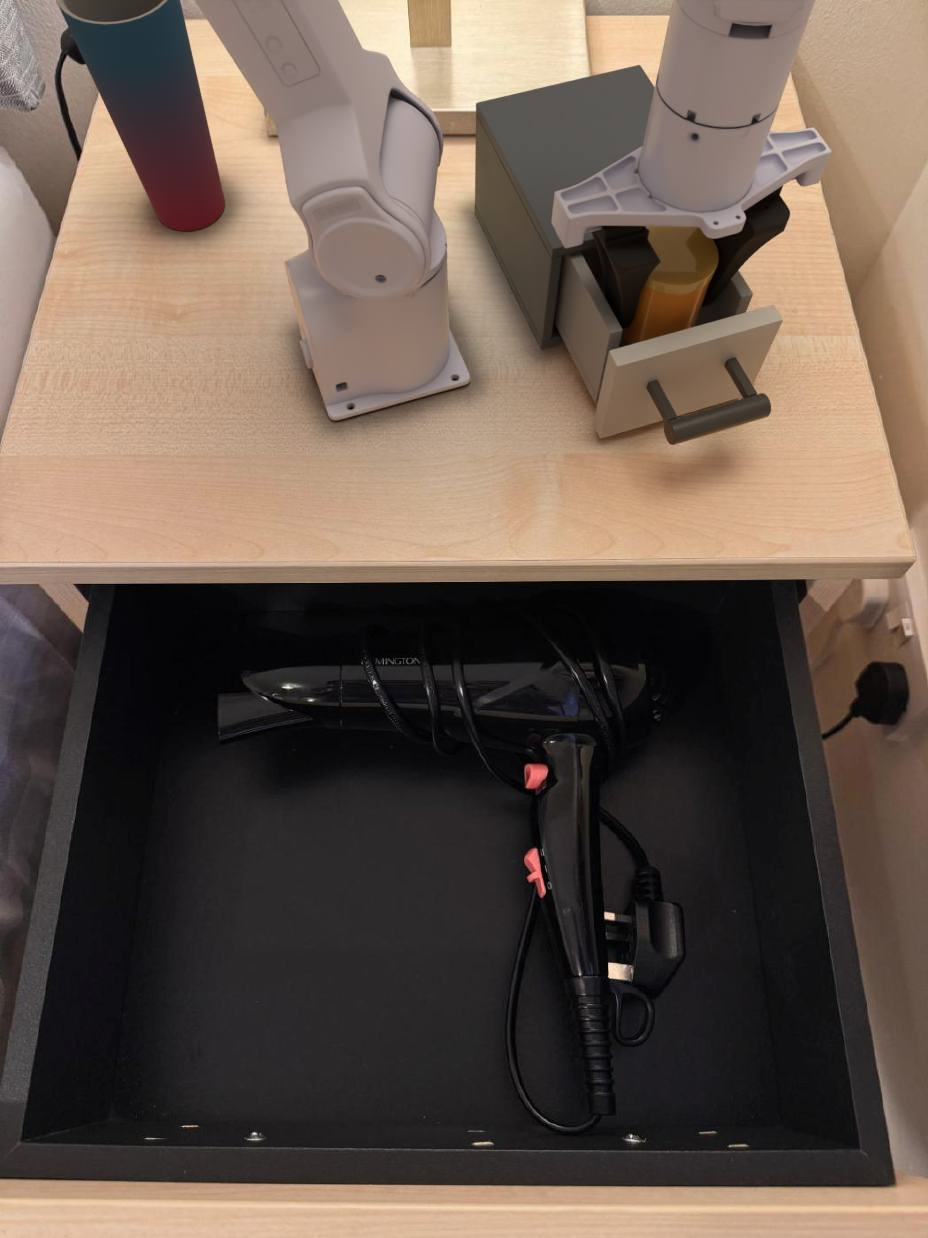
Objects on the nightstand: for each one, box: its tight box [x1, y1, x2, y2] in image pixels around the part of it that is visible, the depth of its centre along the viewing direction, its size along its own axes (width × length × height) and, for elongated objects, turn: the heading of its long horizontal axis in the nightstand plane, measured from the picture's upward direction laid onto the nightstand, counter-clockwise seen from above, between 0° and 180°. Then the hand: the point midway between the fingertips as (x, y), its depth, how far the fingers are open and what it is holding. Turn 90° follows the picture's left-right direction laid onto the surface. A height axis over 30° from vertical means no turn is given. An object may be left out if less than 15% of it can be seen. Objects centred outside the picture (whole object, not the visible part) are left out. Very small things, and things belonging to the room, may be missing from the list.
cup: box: [56, 0, 226, 232], centre depth 57 cm, size 7×7×15 cm
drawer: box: [554, 247, 784, 446], centre depth 54 cm, size 17×10×7 cm, turn 19°
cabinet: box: [474, 64, 655, 350], centre depth 58 cm, size 13×11×8 cm
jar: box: [621, 226, 719, 345], centre depth 51 cm, size 5×5×6 cm
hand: (658, 305), depth 53 cm, fingers closed on jar, 5 cm apart
